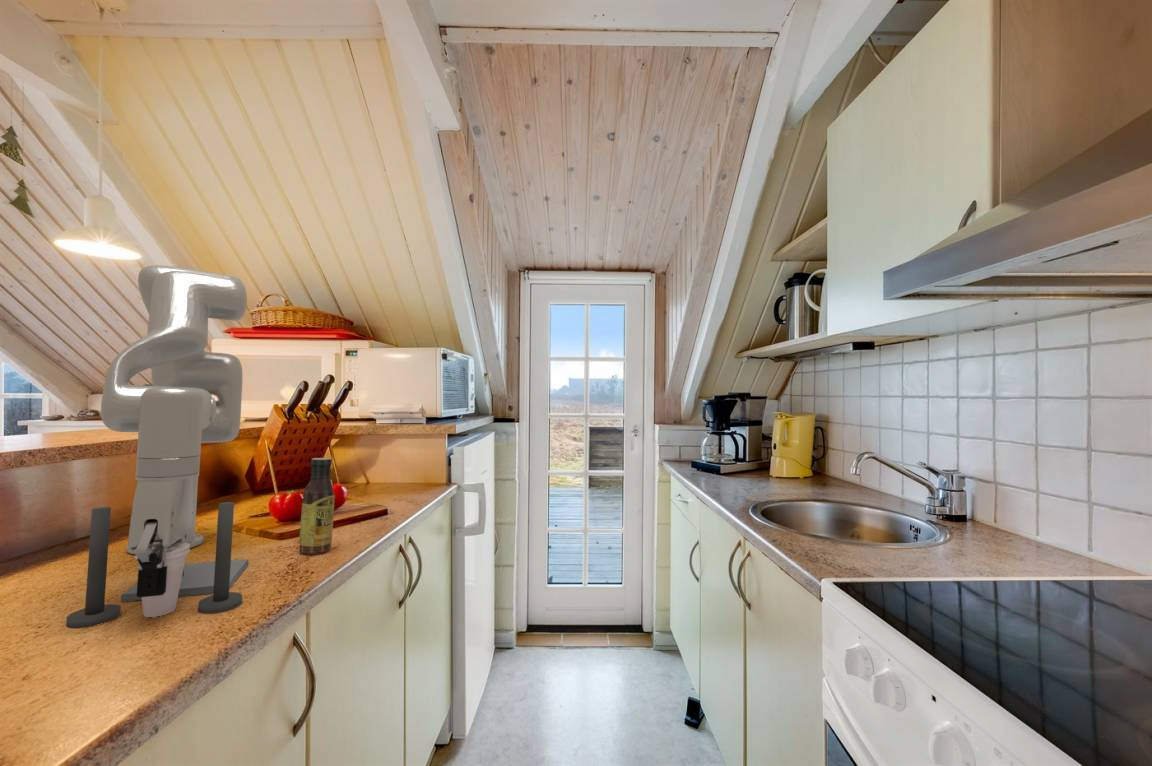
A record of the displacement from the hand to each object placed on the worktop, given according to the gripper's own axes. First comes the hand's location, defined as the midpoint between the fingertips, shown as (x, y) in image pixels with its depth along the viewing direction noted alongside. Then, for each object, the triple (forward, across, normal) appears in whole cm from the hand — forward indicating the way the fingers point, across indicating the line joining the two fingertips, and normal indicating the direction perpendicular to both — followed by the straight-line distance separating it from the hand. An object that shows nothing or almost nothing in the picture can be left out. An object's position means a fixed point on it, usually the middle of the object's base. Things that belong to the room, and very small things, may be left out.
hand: (161, 585), depth 74 cm
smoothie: (+4, 0, 0) cm, 4 cm away
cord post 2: (+4, 0, +8) cm, 9 cm away
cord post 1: (+4, 0, -8) cm, 9 cm away
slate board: (+4, -13, 0) cm, 14 cm away
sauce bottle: (+4, -26, +18) cm, 32 cm away
